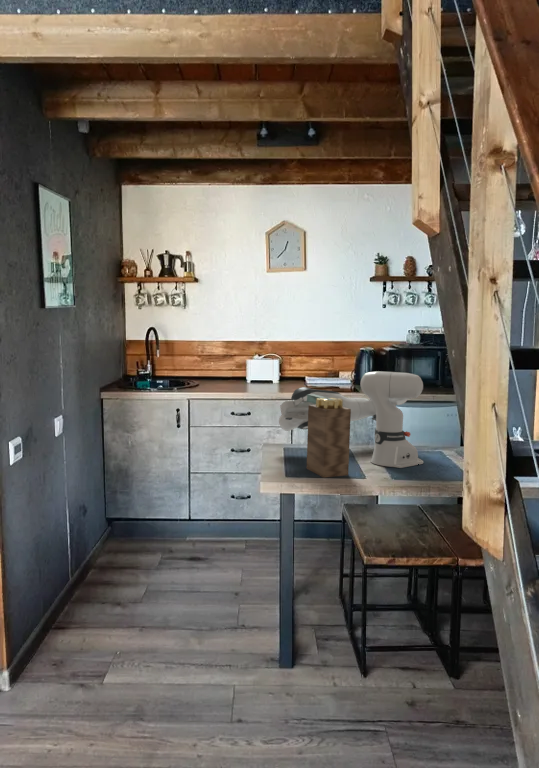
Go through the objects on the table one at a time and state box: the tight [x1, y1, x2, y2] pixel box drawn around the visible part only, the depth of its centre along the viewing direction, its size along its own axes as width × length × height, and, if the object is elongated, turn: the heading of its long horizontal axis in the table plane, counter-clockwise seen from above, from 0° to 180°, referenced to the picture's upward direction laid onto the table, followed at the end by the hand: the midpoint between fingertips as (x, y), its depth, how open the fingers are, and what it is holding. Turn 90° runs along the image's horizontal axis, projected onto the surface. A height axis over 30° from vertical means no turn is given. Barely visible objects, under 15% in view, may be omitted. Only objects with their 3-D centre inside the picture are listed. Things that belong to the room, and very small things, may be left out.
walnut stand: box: [306, 405, 351, 479], centre depth 223 cm, size 11×14×26 cm
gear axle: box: [307, 394, 343, 409], centre depth 226 cm, size 10×21×3 cm, turn 24°
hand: (312, 399), depth 234 cm, fingers open, 8 cm apart
